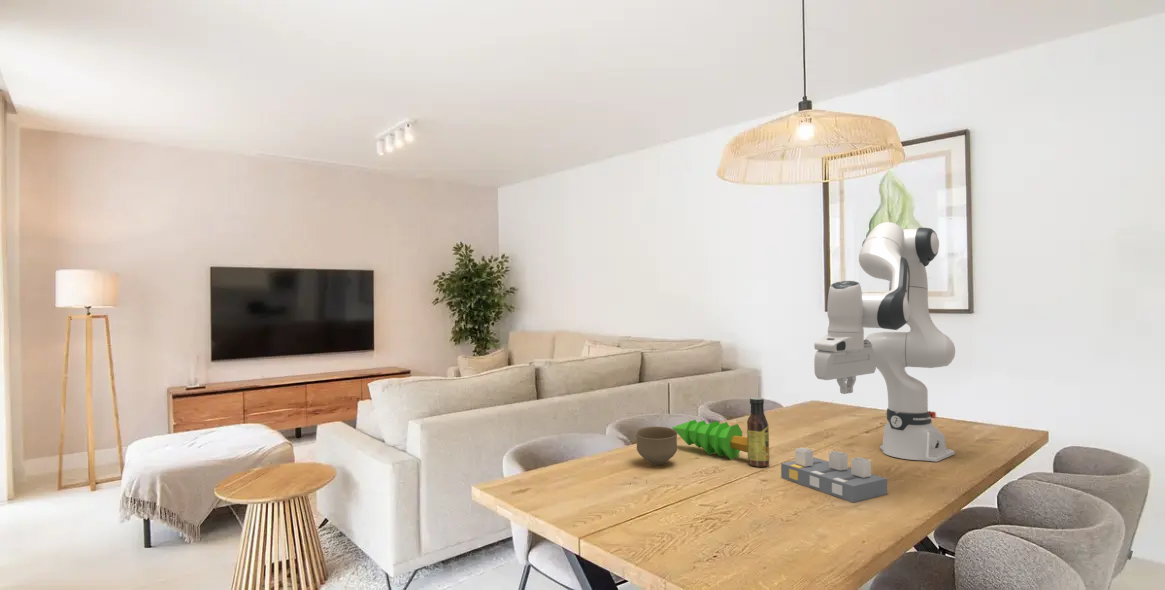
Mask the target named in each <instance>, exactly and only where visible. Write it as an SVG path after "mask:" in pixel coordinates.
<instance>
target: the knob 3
mask: <svg viewBox="0 0 1165 590" xmlns="http://www.w3.org/2000/svg"><path fill="white" fill-rule="evenodd" d="M850 460H851V461H850V463H851V466H850V468H851V474H852V475H856V476H859V477H862V478H865V477H869V476H871V474H872V460H871V459H868V458H866V457H865V458H864V457H861V456H857V457H852V458H850Z"/></svg>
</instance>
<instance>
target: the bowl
mask: <svg viewBox="0 0 1165 590" xmlns="http://www.w3.org/2000/svg"><path fill="white" fill-rule="evenodd" d="M678 435H679V434H678V433H677V431H676V430H674V429H673V428H672V427H671V428H670V427H667V426H666V427H665V426H646V427H642V428H639V429H637V430H636V431H635V437H636V450H637V452H638V455H640V456H641V458H642V459H644V460H646V461H647V462H648V463H649V464H650V465H652V466H662V465H665V464H666V463H667V462H668V461H669V460H671V459H672V458H673V457H674V456H675V454H676V453H677V451H678Z"/></svg>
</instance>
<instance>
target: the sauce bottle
mask: <svg viewBox="0 0 1165 590" xmlns="http://www.w3.org/2000/svg"><path fill="white" fill-rule="evenodd" d="M749 404H750V415H749V417H748V419H747V420H746V422H747V423H746V424H747V429H746V435H747V436H746V437H747V442H748V453H747V459H748V464H749V465H750V466H752V467H756V468H758V467H759V468H764V467H767V466H770V465H769V464H770V433H769V431H770V430H769V423H768V420H767V418H766V414H765V411H764V408H765V407H764V406H765V405H764V404H765V399H764V398H763V397H750V398H749Z"/></svg>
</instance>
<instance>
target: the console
mask: <svg viewBox="0 0 1165 590" xmlns="http://www.w3.org/2000/svg"><path fill="white" fill-rule="evenodd" d="M780 466H781V468H780V478H782V479H785V480H788V481H790V482H793V483H796V484H798V485H801V486H804V487H808V488H811V489H812V490H816V491H819V492H822V493H824V494H828V495H830V496H833V497H836V498H839V499H842V500H844V501H847V502H851V503H853V504H854V503H857V502H861V501H866V500H871V499H873V498H877V497H882V496H886V495H888V478H887V477H883V476H879V475H876V474H873V473H871V476H869V477H865V478H862V477H859V476H856V475H852V474H851V467H849V466H848V469H846V470H841V471H839V470H836V469H833V468H829V460H825V459H822V458H817V457H814V456H813V465H812V466H807V467H805V466H801V465H798V464H795V460H792V461H787V462H782V463H780Z"/></svg>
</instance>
